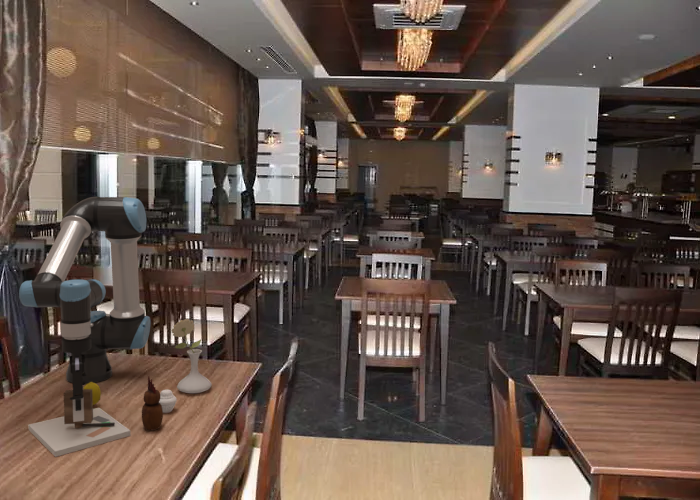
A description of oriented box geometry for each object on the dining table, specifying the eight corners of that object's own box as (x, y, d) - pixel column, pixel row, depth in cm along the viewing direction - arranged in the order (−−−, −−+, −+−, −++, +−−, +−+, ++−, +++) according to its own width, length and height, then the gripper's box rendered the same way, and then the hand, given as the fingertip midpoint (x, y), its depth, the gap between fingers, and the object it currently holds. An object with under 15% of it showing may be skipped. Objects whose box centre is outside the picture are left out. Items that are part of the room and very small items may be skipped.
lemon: (94, 410, 188) (93, 385, 187) (78, 408, 190) (77, 384, 189) (104, 404, 194) (104, 379, 193) (89, 402, 195) (88, 378, 194)
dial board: (99, 412, 187) (99, 407, 187) (130, 435, 172) (130, 430, 171) (28, 429, 174) (28, 424, 173) (55, 456, 158) (55, 451, 158)
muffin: (175, 414, 187) (175, 392, 186) (154, 415, 186) (154, 393, 185) (177, 407, 193) (177, 385, 192) (157, 407, 192) (157, 386, 191)
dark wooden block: (67, 425, 173) (65, 390, 172) (115, 423, 175) (114, 388, 174) (64, 428, 171) (63, 393, 169) (113, 426, 173) (112, 391, 172)
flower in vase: (209, 383, 215) (209, 314, 212) (213, 394, 205) (213, 321, 202) (171, 386, 211) (170, 315, 208) (172, 398, 201) (172, 323, 197)
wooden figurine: (140, 424, 179) (140, 375, 177) (161, 422, 181) (160, 373, 180) (142, 434, 173) (142, 382, 171) (164, 431, 175) (163, 380, 173)
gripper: (91, 345, 161) (94, 427, 164) (90, 326, 180) (92, 399, 183) (60, 347, 158) (63, 431, 161) (62, 327, 177) (64, 403, 180)
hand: (78, 414), depth 172 cm, fingers open, 8 cm apart
